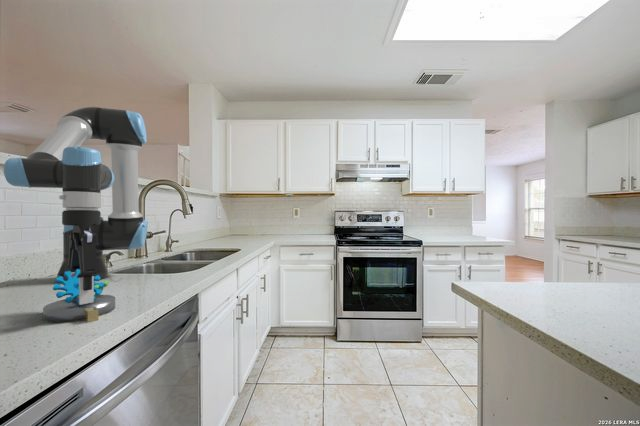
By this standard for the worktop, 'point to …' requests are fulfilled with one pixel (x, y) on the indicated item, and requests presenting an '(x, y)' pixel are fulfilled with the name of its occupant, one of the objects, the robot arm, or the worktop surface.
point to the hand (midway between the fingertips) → (81, 299)
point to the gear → (76, 286)
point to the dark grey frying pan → (78, 310)
